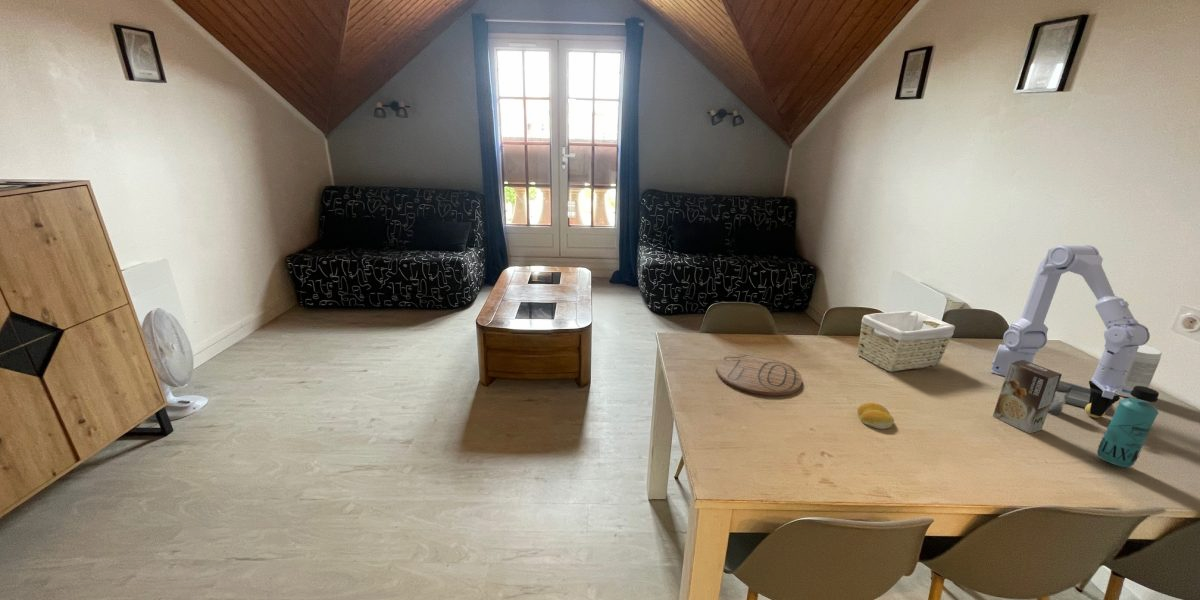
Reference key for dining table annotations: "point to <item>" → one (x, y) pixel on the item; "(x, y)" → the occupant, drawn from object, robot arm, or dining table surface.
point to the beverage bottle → (1129, 427)
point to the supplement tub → (1141, 369)
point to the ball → (1087, 410)
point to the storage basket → (903, 340)
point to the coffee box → (1026, 395)
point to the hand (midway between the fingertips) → (1094, 411)
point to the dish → (1078, 395)
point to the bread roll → (875, 415)
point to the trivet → (759, 375)
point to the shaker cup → (1059, 398)
